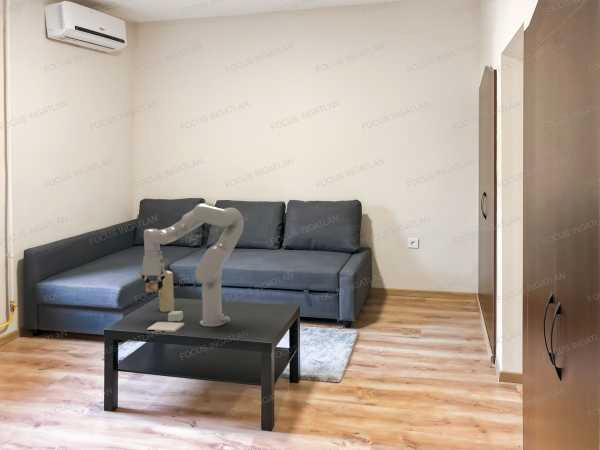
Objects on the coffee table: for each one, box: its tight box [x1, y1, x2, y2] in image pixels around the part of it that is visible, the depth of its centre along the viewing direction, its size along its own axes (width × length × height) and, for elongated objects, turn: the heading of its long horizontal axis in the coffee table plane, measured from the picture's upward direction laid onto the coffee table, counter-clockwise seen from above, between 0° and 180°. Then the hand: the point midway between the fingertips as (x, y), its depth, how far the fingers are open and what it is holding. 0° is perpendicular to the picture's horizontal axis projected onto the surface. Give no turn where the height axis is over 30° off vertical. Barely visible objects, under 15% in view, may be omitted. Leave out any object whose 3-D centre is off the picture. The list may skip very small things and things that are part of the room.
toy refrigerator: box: [157, 270, 175, 313], centre depth 307 cm, size 8×7×21 cm
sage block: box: [167, 310, 184, 322], centre depth 289 cm, size 6×6×4 cm
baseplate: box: [146, 321, 185, 333], centre depth 275 cm, size 14×12×1 cm
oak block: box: [145, 280, 162, 293], centre depth 286 cm, size 6×6×4 cm
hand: (154, 287), depth 286 cm, fingers closed on oak block, 6 cm apart
